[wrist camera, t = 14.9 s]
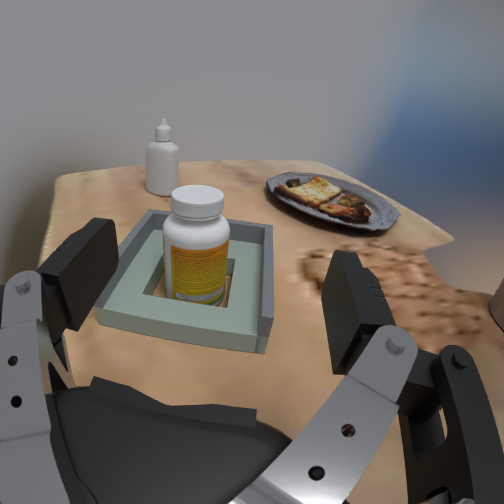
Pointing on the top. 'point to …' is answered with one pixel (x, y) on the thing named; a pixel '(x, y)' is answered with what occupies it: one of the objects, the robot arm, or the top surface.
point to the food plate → (333, 200)
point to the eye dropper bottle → (162, 163)
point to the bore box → (186, 313)
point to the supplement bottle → (196, 245)
